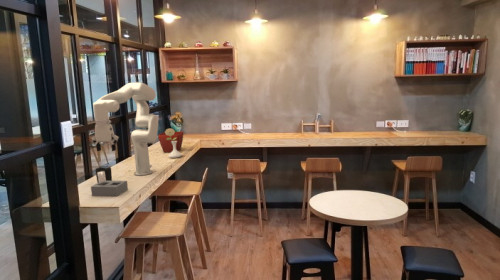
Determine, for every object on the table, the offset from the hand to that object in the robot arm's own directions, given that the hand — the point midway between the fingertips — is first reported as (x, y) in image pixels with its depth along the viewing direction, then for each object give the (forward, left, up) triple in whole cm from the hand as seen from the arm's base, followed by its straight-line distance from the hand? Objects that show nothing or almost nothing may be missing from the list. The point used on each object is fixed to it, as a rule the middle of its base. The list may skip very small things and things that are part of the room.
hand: (106, 150), depth 204 cm
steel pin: (+5, -1, -23) cm, 23 cm away
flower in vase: (-84, +8, -25) cm, 88 cm away
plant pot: (-109, -4, -25) cm, 112 cm away
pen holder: (-12, -11, -25) cm, 29 cm away
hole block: (+5, +3, -24) cm, 25 cm away
